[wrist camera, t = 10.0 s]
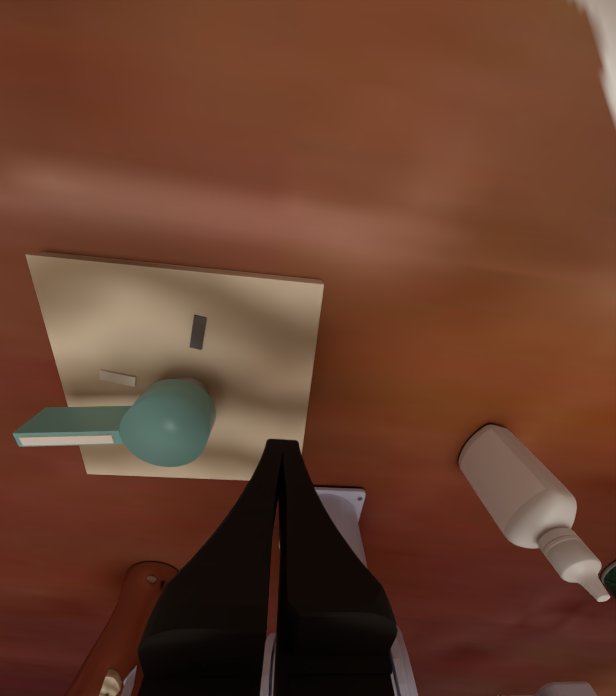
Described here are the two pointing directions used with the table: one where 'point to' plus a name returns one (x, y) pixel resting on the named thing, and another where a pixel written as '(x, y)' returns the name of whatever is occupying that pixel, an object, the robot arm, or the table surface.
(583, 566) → the eye dropper bottle
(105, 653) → the beer glass
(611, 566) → the canned tomato
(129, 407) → the knob
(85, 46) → the table surface
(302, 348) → the post base
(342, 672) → the robot arm
